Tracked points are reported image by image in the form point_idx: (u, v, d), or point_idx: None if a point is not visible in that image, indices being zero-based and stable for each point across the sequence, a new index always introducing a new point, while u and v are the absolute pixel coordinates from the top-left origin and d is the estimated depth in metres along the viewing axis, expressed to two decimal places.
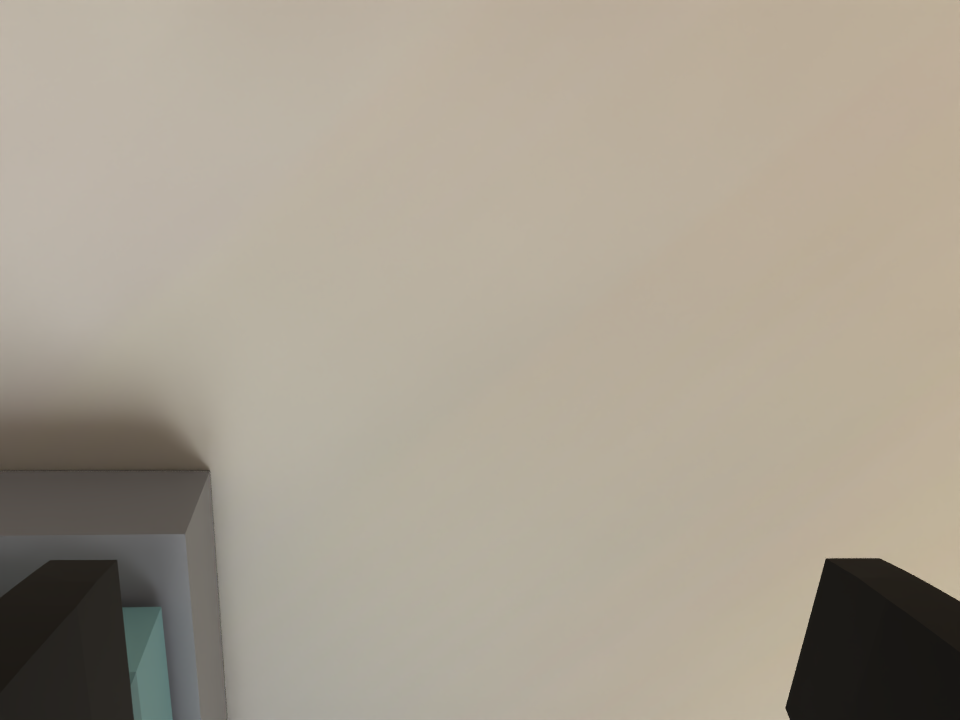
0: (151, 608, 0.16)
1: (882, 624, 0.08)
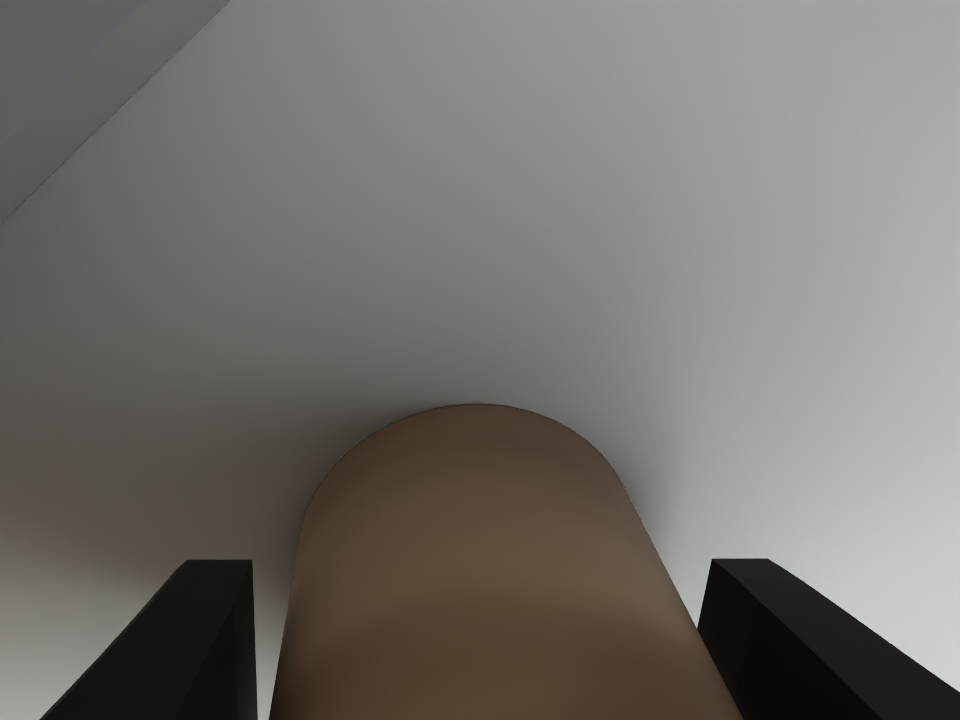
0: None
1: (755, 626, 0.07)
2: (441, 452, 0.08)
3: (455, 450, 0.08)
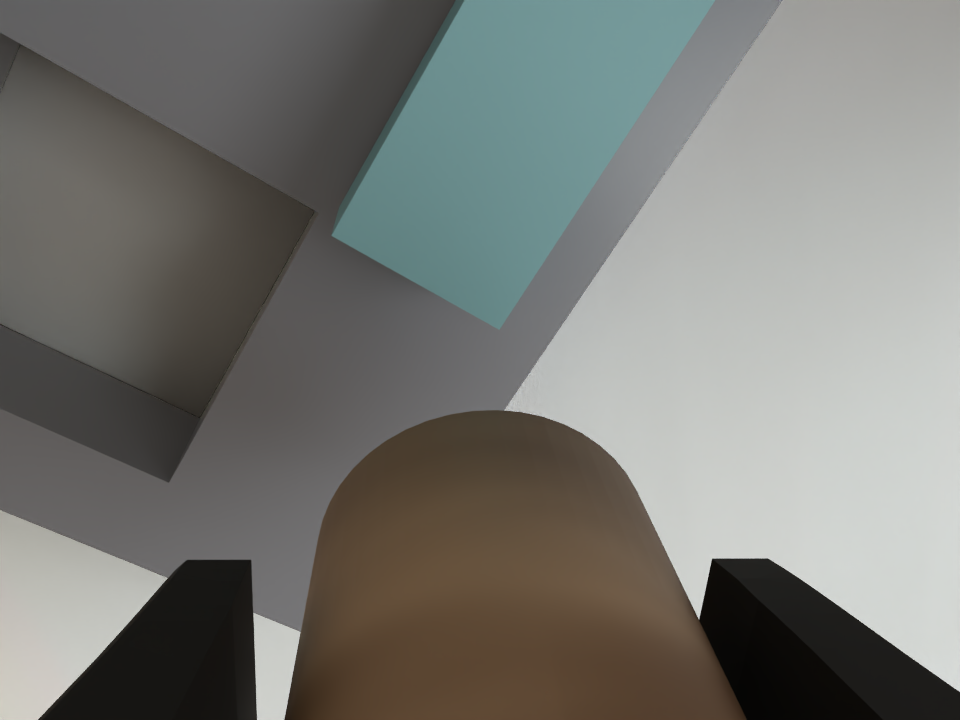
0: None
1: (755, 625, 0.07)
2: (452, 458, 0.08)
3: (465, 456, 0.08)
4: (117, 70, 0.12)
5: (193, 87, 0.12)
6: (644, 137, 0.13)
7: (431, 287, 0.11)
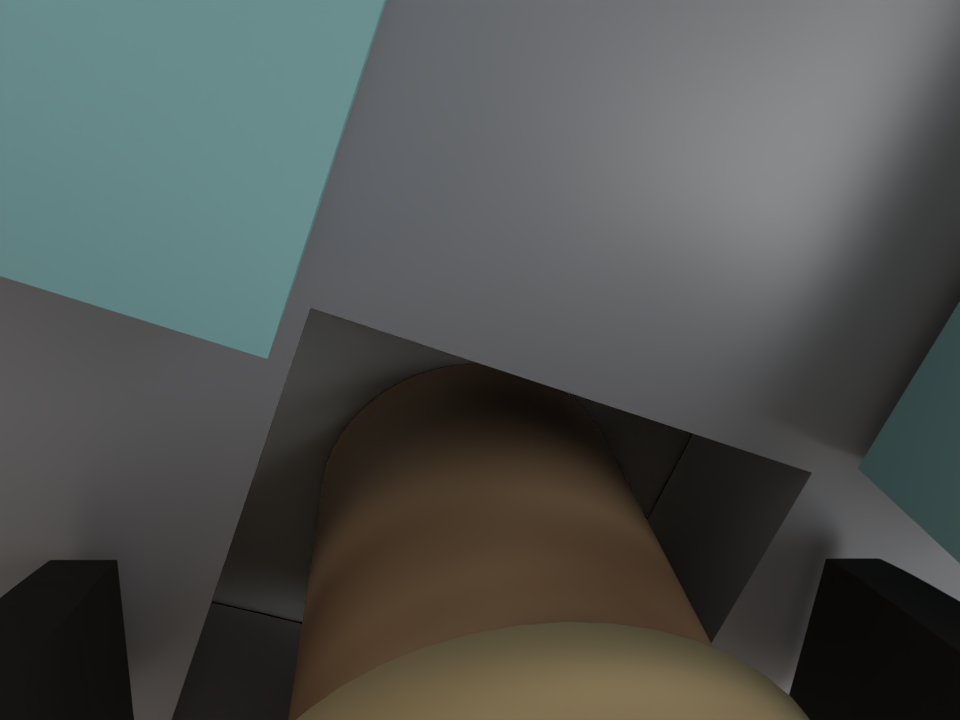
0: None
1: (882, 624, 0.08)
2: (441, 402, 0.10)
3: (453, 399, 0.10)
4: (534, 343, 0.08)
5: (641, 344, 0.08)
6: None
7: None
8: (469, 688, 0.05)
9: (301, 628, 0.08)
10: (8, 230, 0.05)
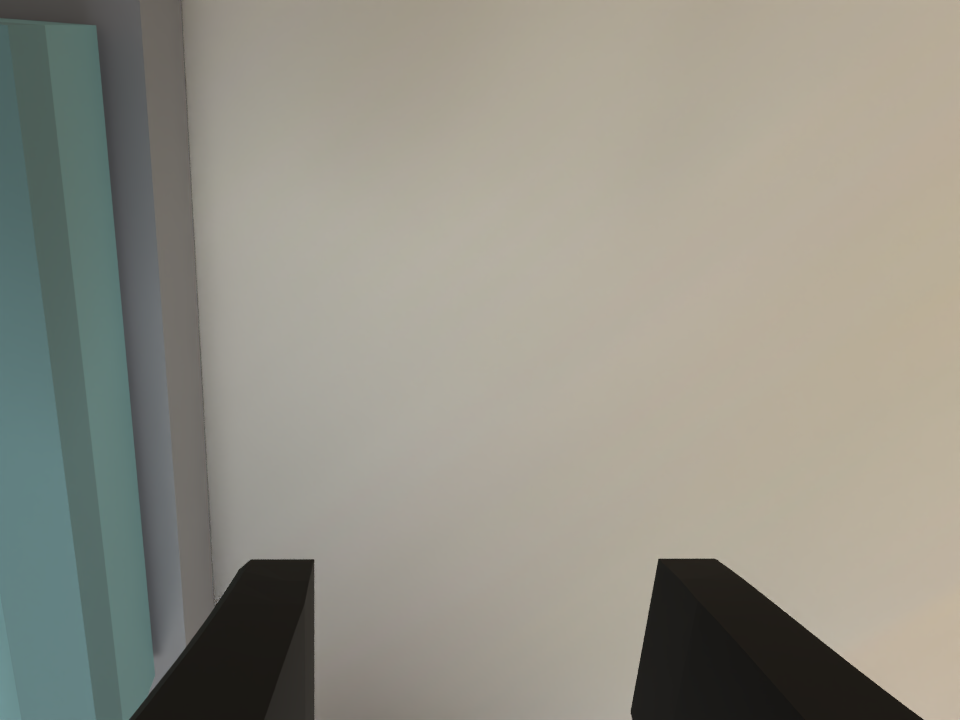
0: None
1: (696, 626, 0.07)
2: None
3: None
4: None
5: None
6: None
7: None
8: None
9: None
10: None
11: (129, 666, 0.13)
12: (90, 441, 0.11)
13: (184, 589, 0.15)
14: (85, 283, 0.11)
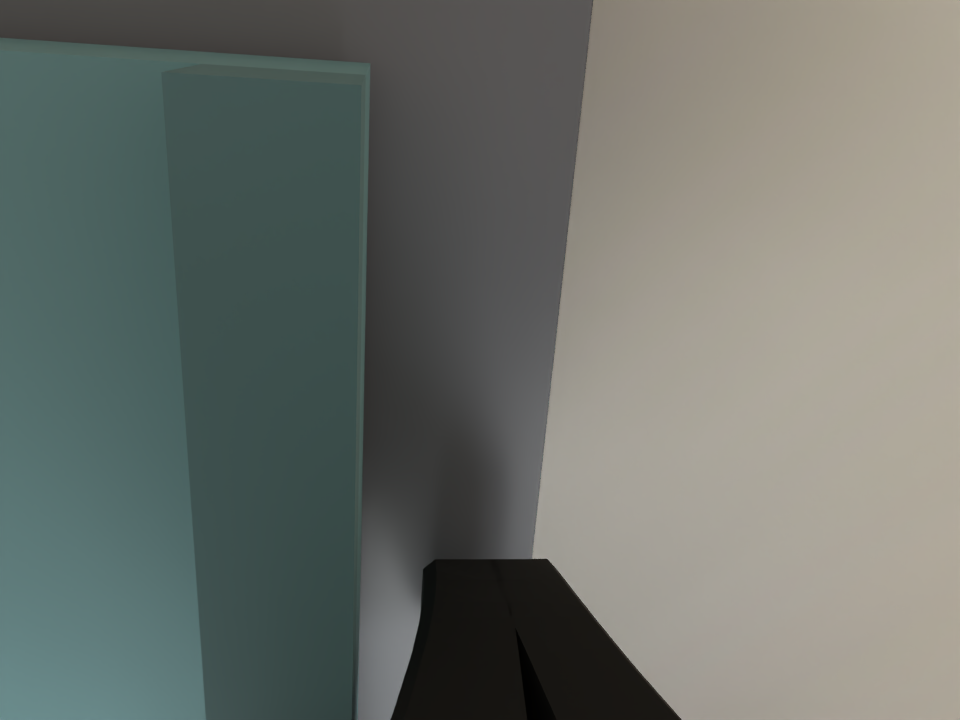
0: None
1: None
2: None
3: None
4: None
5: None
6: None
7: None
8: None
9: None
10: None
11: None
12: (355, 719, 0.07)
13: None
14: (360, 479, 0.07)
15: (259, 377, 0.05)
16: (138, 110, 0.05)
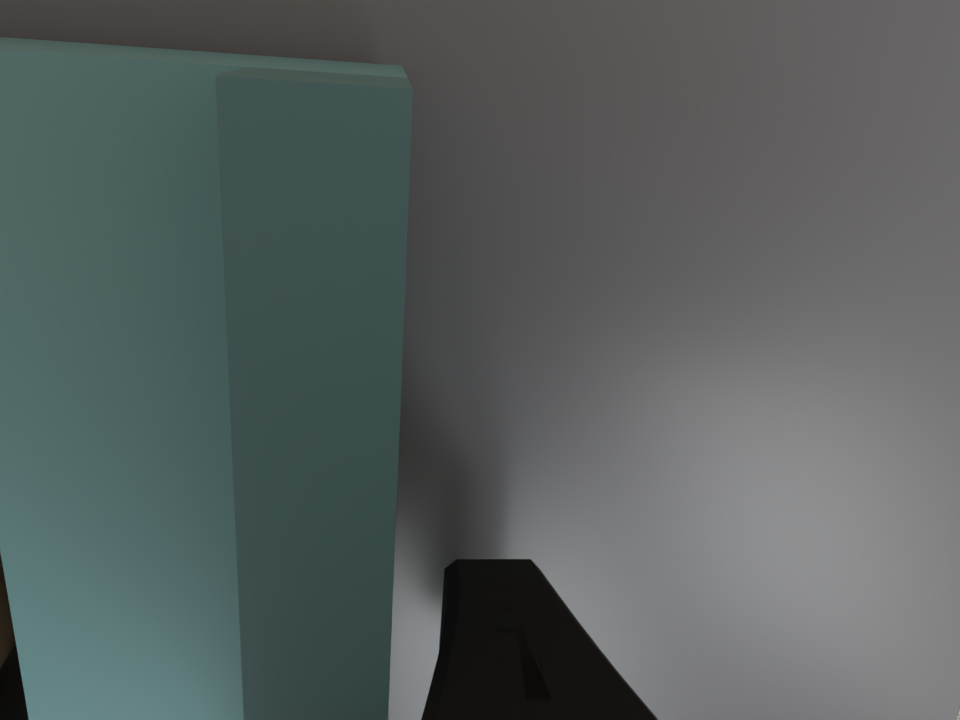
0: None
1: None
2: None
3: None
4: None
5: None
6: None
7: None
8: None
9: None
10: None
11: None
12: None
13: None
14: None
15: (306, 380, 0.05)
16: (181, 113, 0.05)
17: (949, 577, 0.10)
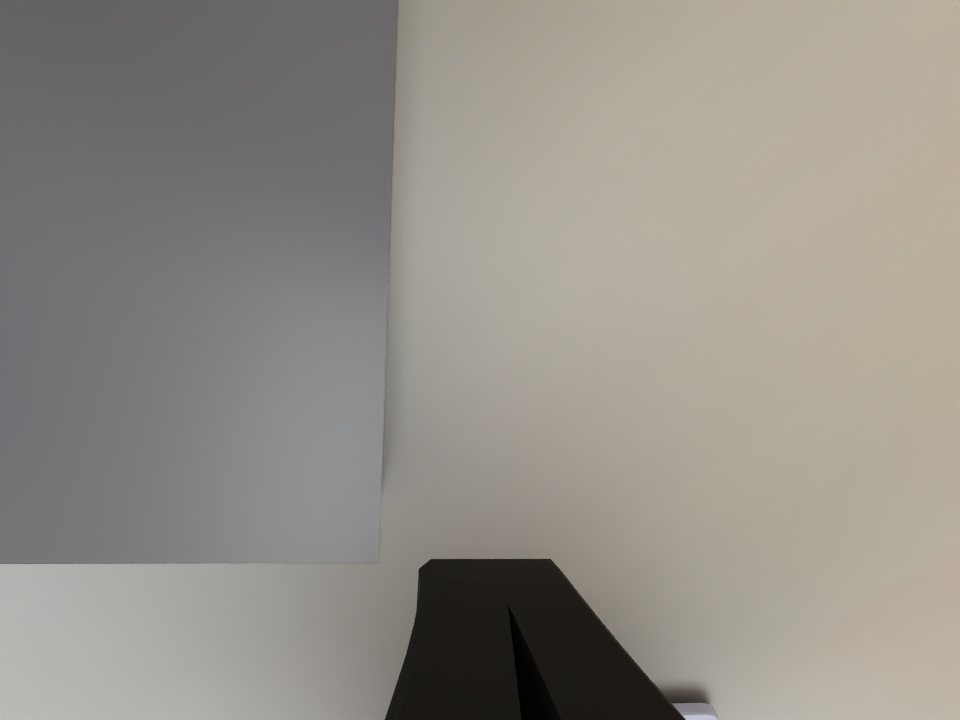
0: None
1: None
2: None
3: None
4: None
5: None
6: None
7: None
8: None
9: None
10: None
11: None
12: None
13: (383, 420, 0.15)
14: None
15: None
16: None
17: (343, 201, 0.13)
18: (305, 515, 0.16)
